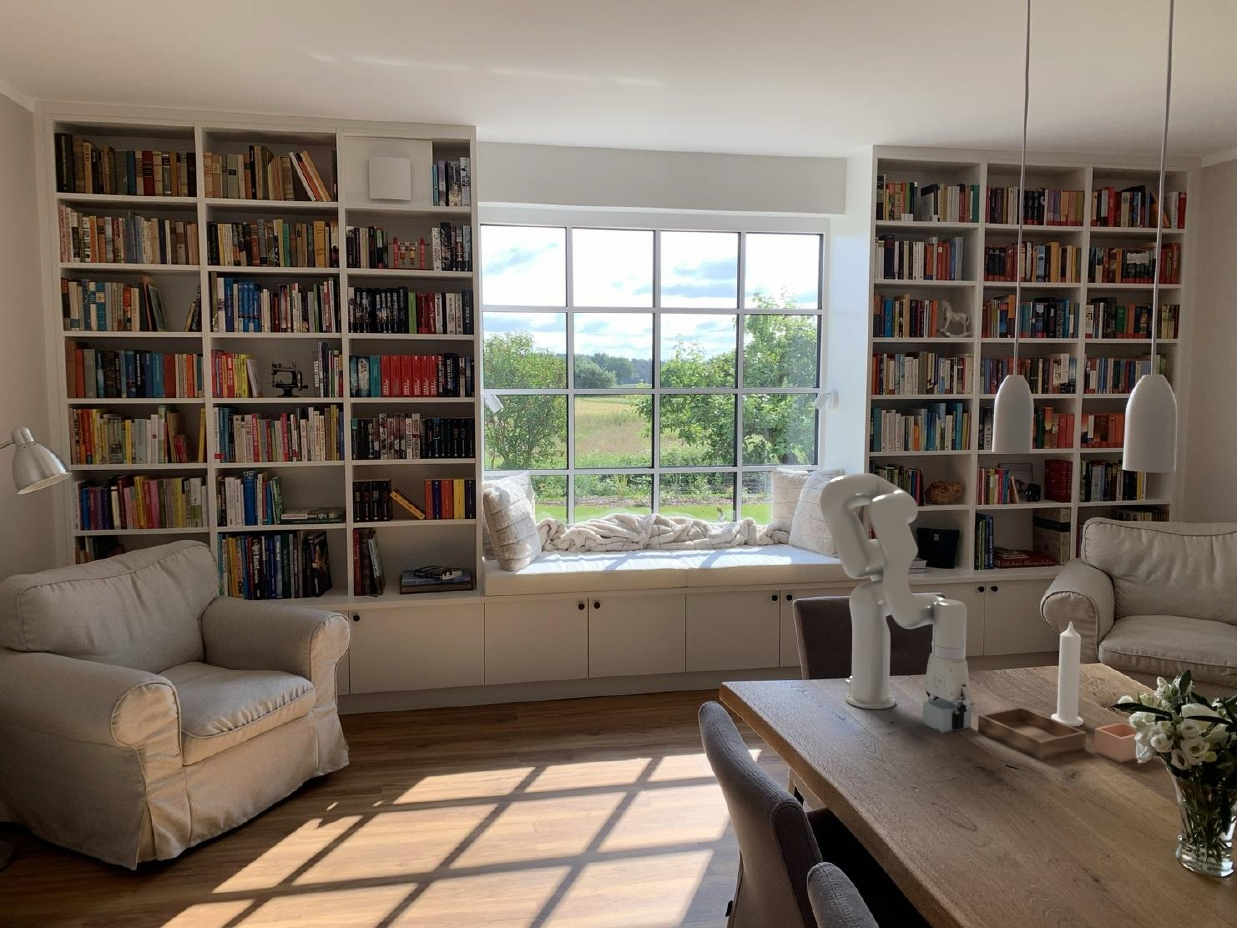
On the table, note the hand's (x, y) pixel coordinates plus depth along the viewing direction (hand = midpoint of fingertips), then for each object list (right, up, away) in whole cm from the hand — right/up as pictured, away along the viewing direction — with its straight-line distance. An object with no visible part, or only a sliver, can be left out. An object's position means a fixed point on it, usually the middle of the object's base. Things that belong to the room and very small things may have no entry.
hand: (946, 722), depth 217 cm
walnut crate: (+16, -1, -9) cm, 19 cm away
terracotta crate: (+33, -2, -17) cm, 37 cm away
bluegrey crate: (0, -1, 0) cm, 1 cm away
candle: (+31, -1, +3) cm, 31 cm away
